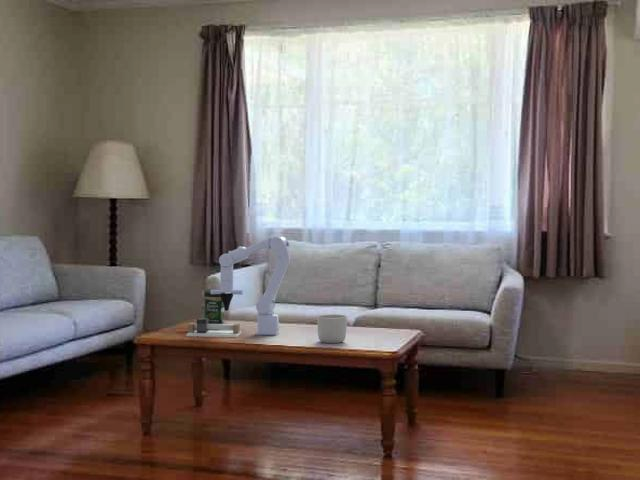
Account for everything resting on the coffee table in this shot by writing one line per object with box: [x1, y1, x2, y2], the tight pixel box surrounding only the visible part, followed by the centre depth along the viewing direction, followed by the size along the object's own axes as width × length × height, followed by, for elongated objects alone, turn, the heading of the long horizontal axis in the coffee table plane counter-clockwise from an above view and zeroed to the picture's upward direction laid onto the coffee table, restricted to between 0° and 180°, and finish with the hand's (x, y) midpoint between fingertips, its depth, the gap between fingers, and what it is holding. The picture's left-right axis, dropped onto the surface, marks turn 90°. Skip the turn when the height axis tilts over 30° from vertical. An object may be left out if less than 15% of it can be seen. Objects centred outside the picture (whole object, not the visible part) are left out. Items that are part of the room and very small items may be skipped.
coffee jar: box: [203, 288, 226, 324], centre depth 371 cm, size 10×8×19 cm
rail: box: [185, 322, 242, 338], centre depth 352 cm, size 22×12×5 cm, turn 85°
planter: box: [316, 313, 348, 344], centre depth 335 cm, size 12×12×11 cm
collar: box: [196, 317, 210, 333], centre depth 353 cm, size 4×5×6 cm
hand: (226, 310), depth 360 cm, fingers closed
